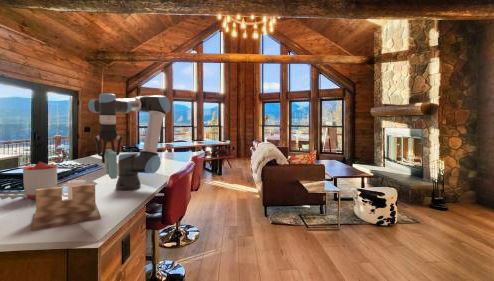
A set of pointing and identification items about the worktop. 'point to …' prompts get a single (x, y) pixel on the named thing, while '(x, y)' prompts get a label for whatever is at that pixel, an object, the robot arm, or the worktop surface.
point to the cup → (70, 184)
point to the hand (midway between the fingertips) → (108, 168)
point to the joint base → (65, 219)
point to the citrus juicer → (39, 178)
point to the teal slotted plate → (111, 163)
